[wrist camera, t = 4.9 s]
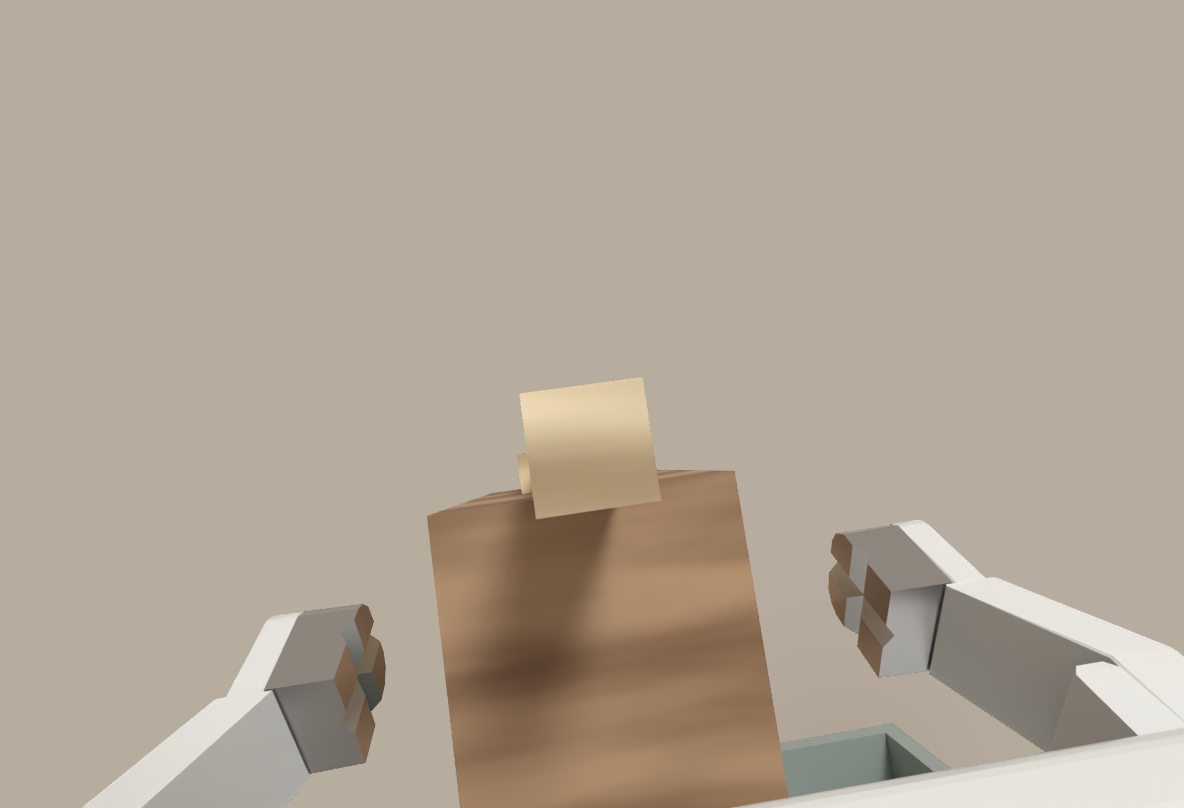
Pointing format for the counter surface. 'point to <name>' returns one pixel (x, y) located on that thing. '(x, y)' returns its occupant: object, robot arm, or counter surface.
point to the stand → (606, 652)
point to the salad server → (588, 448)
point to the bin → (854, 759)
